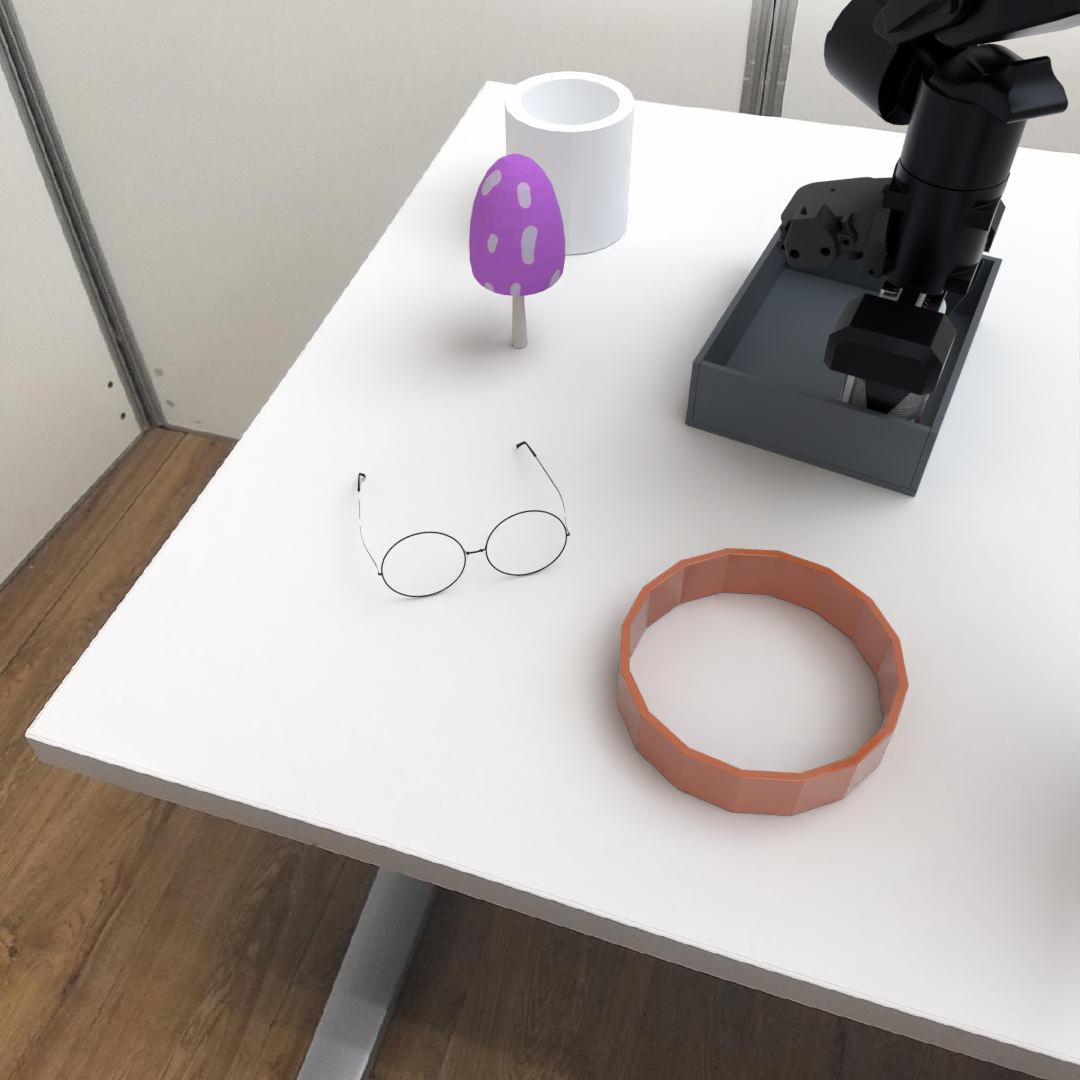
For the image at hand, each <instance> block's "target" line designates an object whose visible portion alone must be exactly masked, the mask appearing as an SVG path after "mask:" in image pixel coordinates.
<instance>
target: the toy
mask: <svg viewBox="0 0 1080 1080" xmlns="http://www.w3.org/2000/svg"><path fill="white" fill-rule="evenodd" d="M468 235H469V236H468V253H469V263H470V269H471V273H472V275H473V278H474V279H475V280H476V281H477V283H478V284H479V285H480V286H482V287H483V288H484V289H486V290H488V291H490V292H491V293H494V294H498V295H501V296H509V297H512V299H511V300H512V304H511V305H512V306H511V307H512V310H511V311H512V312H511V315H512V316H511V322H512V323H511V345H512V346H513V348H515V349H523V348H525V347H526V346H527V345H528V336H527V335H528V334H527V319H526V317H527V316H526V305H525V297H526V296H531V295H536V294H540V293H542V292H544V291H546V290H549V289H550V288H552V287H553V286H554V285H555V284H556V283H558V281H560V279H561V277H562V275H564V269H565V261H566V254H565V234H564V224H563V219H562V215H561V210H560V206H559V202H558V198H557V196H556V193H555V191H554V188H553V185H552V183H551V182H550V180H549V178H548V177H547V175H546V173H545V172H544V170H543V169H542V168H541V167H540V166H539V165H538V164H537V163H536V162H535V161H534V160H533V159H531V158H530V157H527V156H524V155H521V154H509V155H507V156H506V155H503V156H502V157H499V158H498V159H497V160H496V161H495V162H494V163H493V164H492V165H491V166H490V167H489V168H488V169H487V171H486V172H485V174H484V176H483V178H482V180H481V181H480V184H479V185H478V188H477V190H476V194H475V197H474V200H473V203H472V208H471V214H470V220H469V234H468Z"/></svg>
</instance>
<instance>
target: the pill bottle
mask: <svg viewBox="0 0 1080 1080" xmlns="http://www.w3.org/2000/svg"><path fill="white" fill-rule="evenodd" d="M901 291H902V288H901V289H900V290H899V293H898V295H897V297H890V296H886V295H883V294H881V293H880V295H879V297H883V298H887V299H891V300H894V301H897V300H898V298H899V296H900V294H901ZM925 297H926V294H922V297H921V299H920V301H919V303H918V307H921V305H922V303H923V301H924V299H925ZM945 311H946V303H945V300H944V301H943V303H942V305H941V308H940V310H939V312H941V313H945ZM928 398H929V394H927V395H922V396H920V395H917V394H913V393H910V394H909V395H908V396H906V397H905V398H904V399H903V400H902V401H901V402H900V403H899V404H898V405H897V406H896V407H895V408H893V409H892V410H891V411H890V412H889V413H888V414H887V415H891V416H894V417H897V418H901V419H904V420H908V421H911V422H914V423H918V424H919V423H920V420H921V418H922V415H923V412H924V409H925V406H926V403H927V400H928ZM840 401H843V402H847V403H850V404H853V405H857V406H860V407H864V408H867V404H866V389H865V380H864V379H860V378H857V377H853V376H850V375H846V376H845V380H844V384H843V388H842V392H841V396H840Z"/></svg>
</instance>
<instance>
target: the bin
mask: <svg viewBox="0 0 1080 1080" xmlns="http://www.w3.org/2000/svg"><path fill="white" fill-rule="evenodd" d="M779 227H780V225H779V226H778V228H777V229H776V231H775V233H774V234H773V236H772V237H771V239H770V240H769V242H768V243H767V245H766V247H764V250H762V251H763V252H762V253H761V254H760V256H759V257H758V260H757V261H756V262H755V264H754V265H753V267H752V269H751V270H750V271H749V273H748V275H747V276H746V278H745V279H744V280H743V283H742V284H741V285H740V286H739V287H740V288H739V289H738V290H737V292H736V294H735V295H734V297H733V298H732V299H731V301H730V303H729V305H728V306H727V307H726V309H725V310H724V312H723V314H722V315H721V316H720V319H719V320H718V322H717V324H716V325H715V327H714V328H713V329H712V330H711V333H710V334H709V336H708V338H707V339H706V340H705V342H704V344H703V345H702V347H701V348H700V350H699V351H698V353H697V354H696V356H695V358H694V359H693V361H692V365H691V375H690V382H689V390H688V396H687V397H688V398H687V406H686V415H685V421H684V424H685V425H687V426H690V427H692V428H697V429H700V430H703V431H705V432H709V433H711V434H715V435H718V436H721V437H724V438H728V439H731V440H734V441H737V442H739V443H740V442H741V443H744V444H747V445H750V446H754V447H756V448H759V449H762V450H766V451H769V452H772V453H776V454H778V455H781V456H785V457H787V458H791V459H793V460H798V461H800V462H804V463H807V464H809V465H813V466H817V467H820V468H822V469H826V470H829V471H832V472H836V473H839V474H841V475H845V476H848V477H850V478H851V477H852V478H854V479H858V480H861V481H863V482H864V481H865V482H868V483H870V484H873V485H877V486H880V487H883V488H885V489H889V490H892V491H895V492H899V493H902V494H905V495H909V496H911V497H916V495H917V492H918V491H919V488H920V485H921V482H922V479H923V476H924V474H925V471H926V469H927V465H928V463H929V460H930V458H931V455H932V452H933V449H934V447H935V445H936V441H937V439H938V436H939V434H940V430H941V429H942V425H943V423H944V421H945V420H944V419H945V417H946V414H947V412H948V409H949V408H950V407H949V406H950V403H951V401H952V398H953V395H954V393H955V390H956V387H957V385H958V383H959V379H960V376H961V375H962V371H963V369H964V366H965V364H966V361H967V358H968V355H969V353H970V350H971V347H972V345H973V342H974V339H975V336H976V334H977V331H978V328H979V325H980V323H981V321H982V317H983V315H984V312H985V310H986V306H987V304H988V301H989V298H990V295H991V293H992V291H993V288H994V285H995V282H996V279H997V276H998V274H999V271H1000V268H1001V265H1002V262H1003V259H1002V258H1001V257H1000V258H999V257H995V256H991V255H988V254H984V253H983V254H982V257H981V258H982V259H983V261H984V264H983V266H982V269H981V271H980V274H979V276H978V279H977V281H976V284H975V285H974V286H973V287H972V288H971V290H970V291H969V292H968V293H967V294H966V296H965V297H964V298H963V299H962V300H961V302H960V303H959V304H958V305H957V307H955V309H954V310H953V311H952V312H951V313H950V315H949V316H948V317H947V318H948V319H949V321H950V322H951V324H952V325H953V327H954V328H955V330H956V331H957V332H956V335H955V338H954V341H953V344H952V347H951V350H950V352H949V355H948V358H947V361H946V363H945V366H944V369H943V371H942V374H941V376H940V379H939V381H938V384H937V386H936V389H935V392H934V393H931V394H929V398H928V400H927V403H926V406H925V409H924V412H923V415H922V418H921V420H920V423H919V424H918V423H914V422H911V421H908V420H904V419H901V418H897V417H894V416H891V415H887V414H884V413H881V412H877V411H874V410H870V409H867V408H864V407H860V406H857V405H853V404H850V403H847V402H843V401H840V396H841V392H842V388H843V384H844V380H845V376H846V374H843V373H839V372H836V371H832V370H830V369H829V368H828V367H827V366H826V364H825V363H824V362H823V359H824V355H825V351H826V347H827V342H828V338H829V334H830V333H831V331H832V329H833V327H834V325H835V323H836V321H837V319H838V317H839V315H840V313H841V311H842V310H843V308H844V306H845V304H846V302H848V301H850V300H852V299H854V298H856V297H858V296H860V295H862V294H865V293H867V294H871V295H875V296H879V295H880V290H881V287H882V285H883V283H884V281H885V279H886V277H887V276H885V275H882V276H881V278H874V277H870V276H866V275H862V274H859V270H860V266H861V262H862V258H861V259H858V260H855V261H850V262H836V263H834V264H833V265H832V266H830V267H820V268H804V269H796V268H794V267H793V266H791V265H790V264H789V263H788V261H787V257H786V255H782V254H780V253H779V252H778V251H777V248H776V246H777V243H778V242H779V240H780V228H779Z"/></svg>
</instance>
